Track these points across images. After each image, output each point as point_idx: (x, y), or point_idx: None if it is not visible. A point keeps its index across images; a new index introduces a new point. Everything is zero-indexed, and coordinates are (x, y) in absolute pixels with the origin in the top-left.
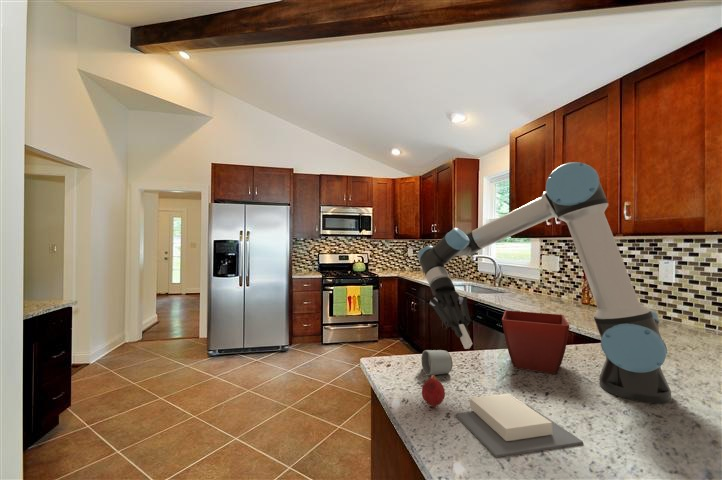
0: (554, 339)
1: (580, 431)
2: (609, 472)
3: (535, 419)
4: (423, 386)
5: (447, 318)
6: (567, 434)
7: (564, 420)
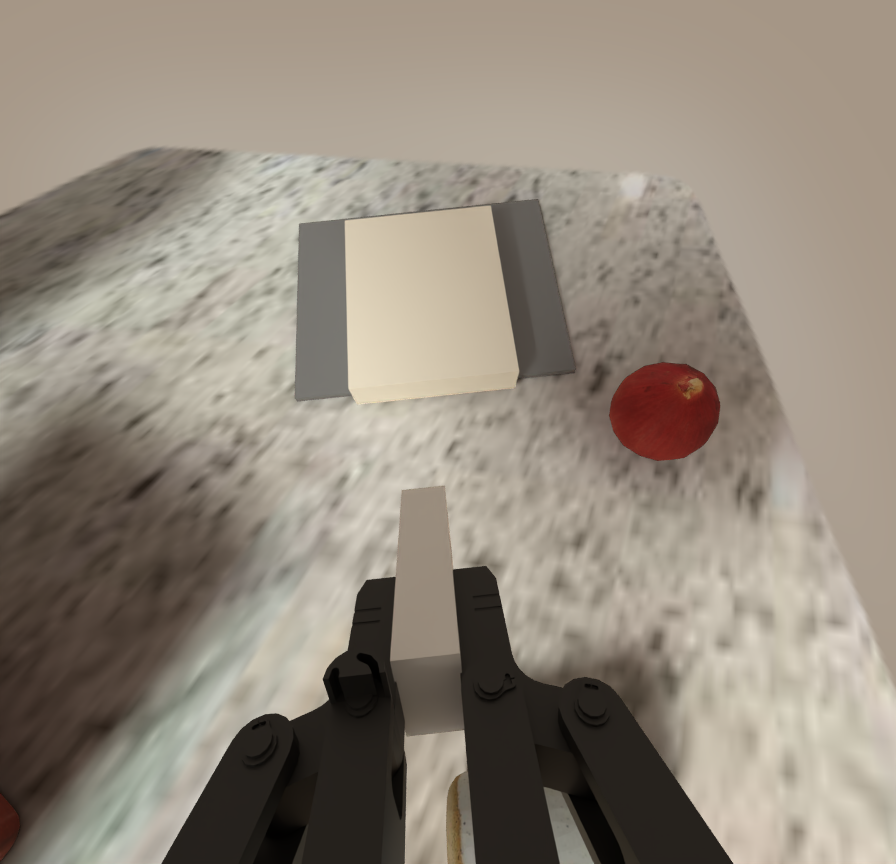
0: None
1: (258, 270)
2: (332, 158)
3: (378, 235)
4: (719, 401)
5: (640, 768)
6: (310, 249)
7: (251, 317)
